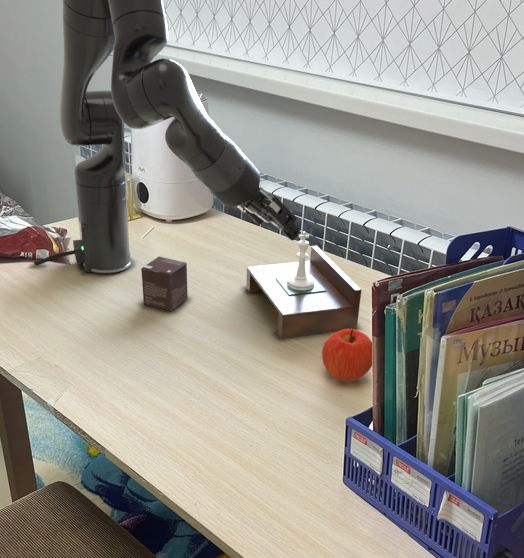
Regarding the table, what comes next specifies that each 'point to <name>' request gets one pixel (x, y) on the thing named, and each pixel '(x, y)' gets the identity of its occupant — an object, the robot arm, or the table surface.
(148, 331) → the table surface
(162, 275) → the box
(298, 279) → the chess piece
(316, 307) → the shelf
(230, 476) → the table surface
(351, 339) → the apple
